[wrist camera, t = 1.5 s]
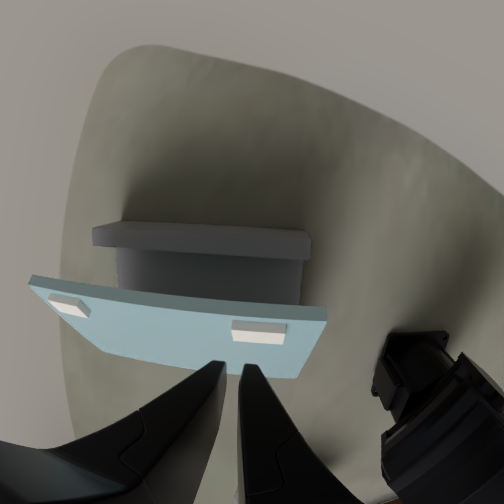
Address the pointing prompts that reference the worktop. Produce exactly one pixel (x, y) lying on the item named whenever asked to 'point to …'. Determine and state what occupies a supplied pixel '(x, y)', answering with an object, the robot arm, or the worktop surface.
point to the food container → (393, 501)
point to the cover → (187, 327)
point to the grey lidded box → (208, 260)
